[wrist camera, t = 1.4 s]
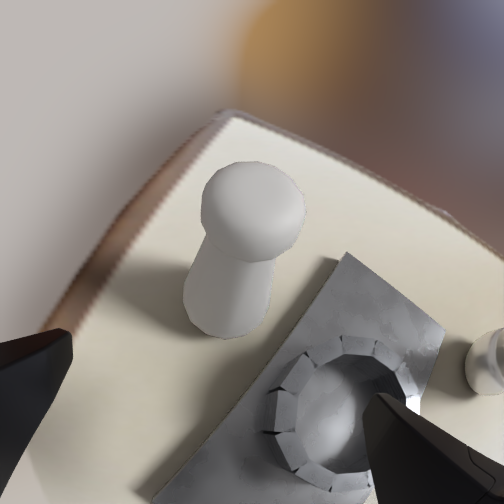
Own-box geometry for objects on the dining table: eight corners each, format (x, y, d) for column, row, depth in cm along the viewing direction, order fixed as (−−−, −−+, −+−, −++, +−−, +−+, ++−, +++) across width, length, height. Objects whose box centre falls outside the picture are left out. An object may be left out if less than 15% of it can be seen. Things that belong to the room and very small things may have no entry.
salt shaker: (190, 352, 21) (191, 264, 10) (177, 278, 23) (174, 143, 12) (270, 338, 22) (352, 244, 11) (251, 269, 25) (302, 140, 14)
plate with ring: (295, 571, 13) (316, 595, 9) (154, 496, 15) (145, 514, 11) (435, 335, 25) (467, 318, 21) (339, 260, 27) (362, 231, 23)
